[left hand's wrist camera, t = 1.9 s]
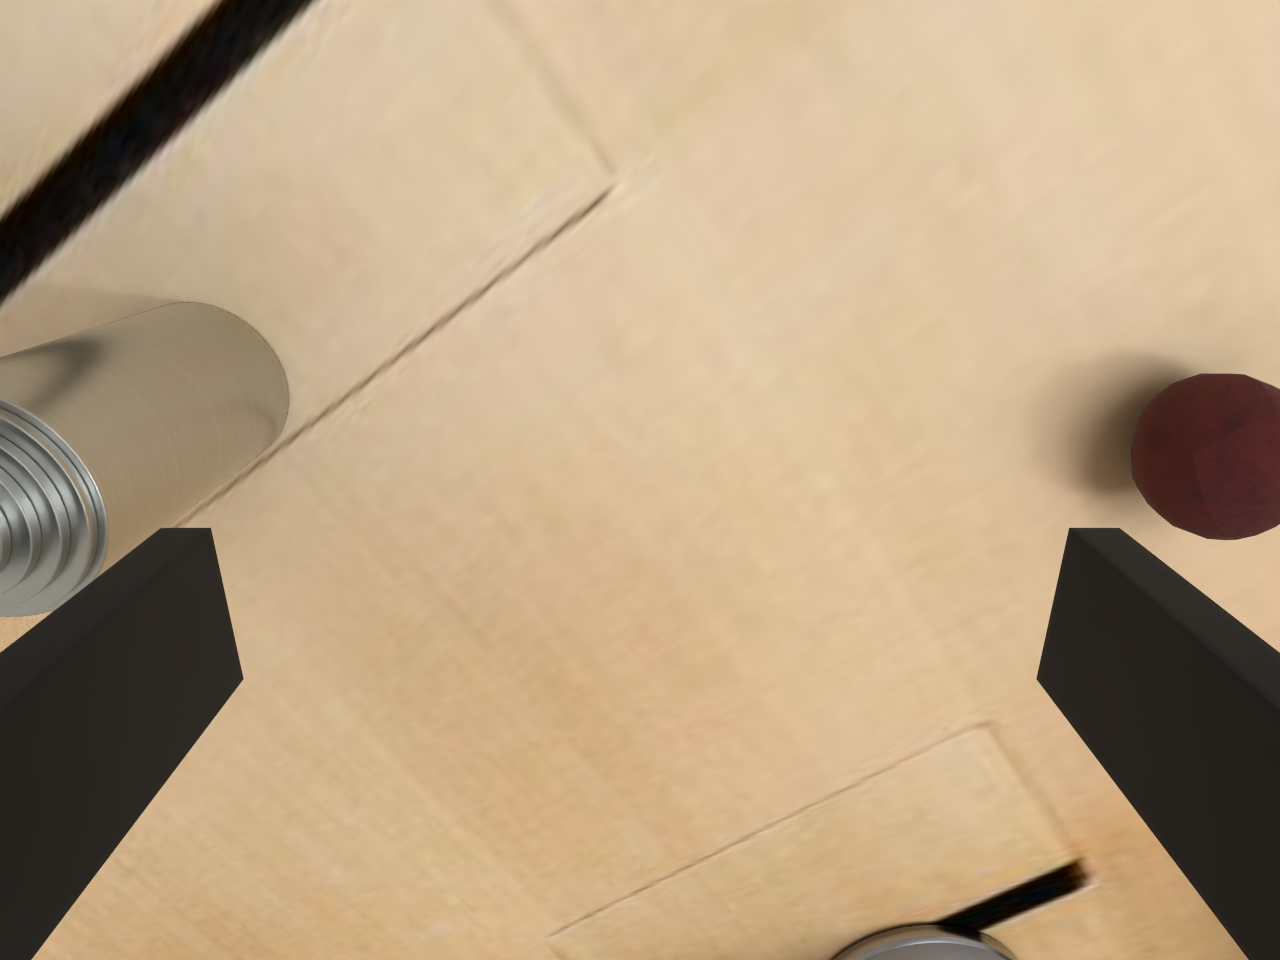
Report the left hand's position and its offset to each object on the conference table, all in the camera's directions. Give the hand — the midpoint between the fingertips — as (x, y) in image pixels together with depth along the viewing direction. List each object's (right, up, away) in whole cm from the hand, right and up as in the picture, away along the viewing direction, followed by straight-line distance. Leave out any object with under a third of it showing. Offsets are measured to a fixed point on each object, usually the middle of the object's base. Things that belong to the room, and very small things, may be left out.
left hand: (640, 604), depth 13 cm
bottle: (-22, +7, +28) cm, 36 cm away
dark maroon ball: (+27, +5, +28) cm, 39 cm away
